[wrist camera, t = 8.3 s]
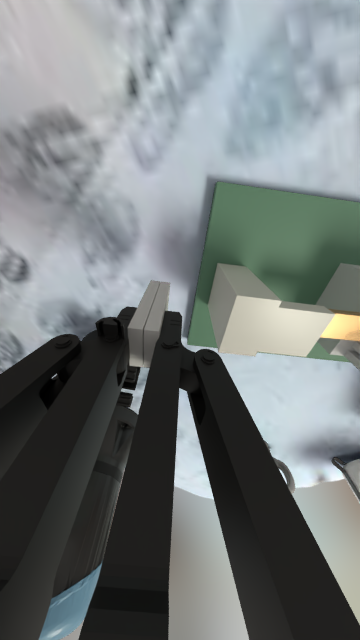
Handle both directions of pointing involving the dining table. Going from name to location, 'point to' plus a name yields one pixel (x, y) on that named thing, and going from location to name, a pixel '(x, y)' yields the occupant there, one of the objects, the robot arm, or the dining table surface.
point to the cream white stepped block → (260, 316)
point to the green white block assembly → (284, 255)
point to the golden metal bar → (343, 326)
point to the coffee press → (350, 474)
